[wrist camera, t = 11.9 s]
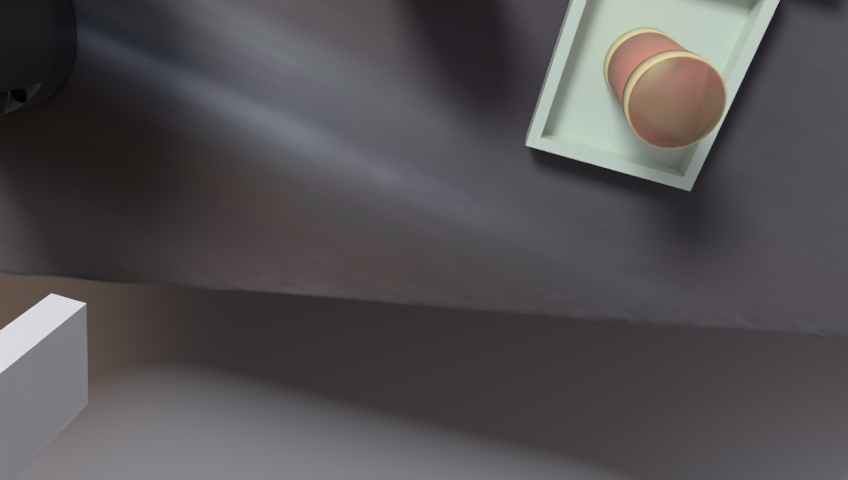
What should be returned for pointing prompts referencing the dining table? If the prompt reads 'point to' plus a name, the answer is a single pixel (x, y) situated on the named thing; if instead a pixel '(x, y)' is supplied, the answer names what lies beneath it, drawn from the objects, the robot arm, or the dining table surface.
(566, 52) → the parts tray
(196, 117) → the dining table surface
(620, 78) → the fuse
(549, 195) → the dining table surface
